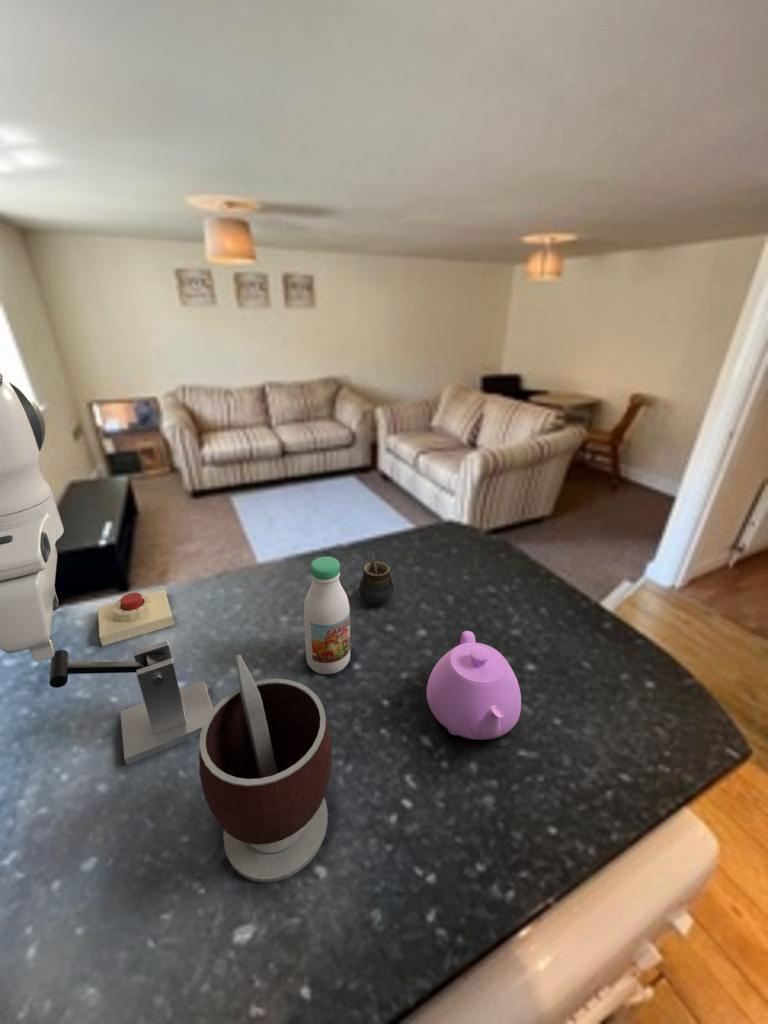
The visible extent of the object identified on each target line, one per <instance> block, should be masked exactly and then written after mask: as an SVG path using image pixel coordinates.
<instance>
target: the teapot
mask: <svg viewBox="0 0 768 1024" xmlns="http://www.w3.org/2000/svg"><path fill="white" fill-rule="evenodd" d="M426 701H427V704H428V707H429V709H430V711H431V713H432V714H433V716H434V717H435V719H436V720H437V721H438V722H439V723H440V725H442V726H443V727H444V728H446V729H447V731H448V732H449V734H451V735H453V736H460V737H462V738H466V739H468V740H469V739H470V740H478V741H482V740H485V741H486V740H492V739H496V738H499V737H502V736H504V735H506V734H508V733H509V732H510V731H511V730H512V729H513V728H514V727H515V726H516V724H517V723H518V722H519V718H520V716H521V711H522V694H521V689H520V685H519V682H518V679H517V676H516V674H515V672H514V670H513V669H512V666H511V665H510V663H509V662H508V660H507V659H506V658H505V657H504V655H503V654H502V653H501V652H500V651H498V650H497V649H495V648H494V647H492V646H490V645H487V644H484V643H481V642H476V636H475V634H474V632H472V631H470V630H464V631H462V633H461V636H460V644H458V645H457V646H455V647H453V648H451V649H450V650H449V651H447V652H446V653H445V654H444V655H443V656H442V657H441V658H440V659H439V660H438V662H437V663H435V666H433V668H432V670H431V673H430V674H429V678H428V680H427V684H426Z"/></svg>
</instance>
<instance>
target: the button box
mask: <svg viewBox="0 0 768 1024" xmlns="http://www.w3.org/2000/svg"><path fill="white" fill-rule="evenodd" d="M140 594H141V595H142V599H143V605H142V606H141V607H139V608H137V609H134V610H131V611H125V610H123V609H122V606H121V602H120V600H121V598H120V599H118V600H117V601H115V602H111V603H107V604H104V605H100V606H98V607H97V616H98V617H97V618H98V637H99V641H100V644H101V647H106V646H109V645H111V644H115V643H119V642H121V641H122V642H123V641H125V640H128V639H132V638H136V637H139V636H142V635H146V634H148V633H149V634H150V633H152V632H156V631H159V630H162V629H165V628H169V627H172V626H175V624H174V618H173V614H172V611H171V607H170V603H169V600H168V596H167V593H166V589H161V590H157V591H152V592H149V593H140Z"/></svg>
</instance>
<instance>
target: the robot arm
mask: <svg viewBox="0 0 768 1024" xmlns="http://www.w3.org/2000/svg"><path fill="white" fill-rule="evenodd" d="M45 438H46V422H45V418H44V415H43V413H42V411H41V410H40V408H39V406H38V405H37V403H35V402H34V400H33V399H32V398H31V397H30V396H29V395H28V394H26V392H24V391H23V390H21V389H20V388H19V387H17V386H16V385H14V384H12V383H11V382H9V381H8V379H7V378H6V377H5V375H3V374H2V373H0V650H1V651H3V652H4V653H7V654H15V653H20V652H23V651H27V650H29V651H30V653H31V656H32V658H33V661H35V662H42V661H43V662H44V661H46V660H51V658H52V657H53V656H54V653H55V652H56V645H55V643H54V640H53V637H52V636H51V630H52V629H51V628H52V619H53V618H52V617H53V612H55V611H57V610H58V608H59V599H58V596H57V592H56V586H55V584H56V575H57V564H58V551H57V546H56V543H57V541H58V540H59V539H60V538H61V537H62V536H63V534H64V531H65V529H64V525H63V522H62V519H61V516H60V512H59V509H58V505H57V502H56V500H55V496H54V494H53V490H52V488H51V486H50V484H49V483H48V481H47V480H46V478H45V477H44V475H43V473H42V471H41V466H40V463H41V462H40V460H41V453H40V452H41V450H42V447H43V445H44V442H45Z"/></svg>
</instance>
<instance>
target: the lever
mask: <svg viewBox="0 0 768 1024" xmlns="http://www.w3.org/2000/svg"><path fill="white" fill-rule="evenodd" d="M69 658H70V655H69V652H68V651H67V650H65V649H58V650H55V653H54V656H53V657H52V658H50V667H49V679H48V681H49V682H48V685H49V686H50V687H52V688H54V689H58V688H63V687H64V686H66V685H67V683H68V681H69V675H86V674H87V675H88V674H132V673H134V674H135V673H136V670H138V669H141V668H144V667H147V666H150V665H153V664H156V663H159V662H162V661H165V660H168V656H167V655H146V656H145V659H144V662H135V661H69V660H70V659H69Z"/></svg>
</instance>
